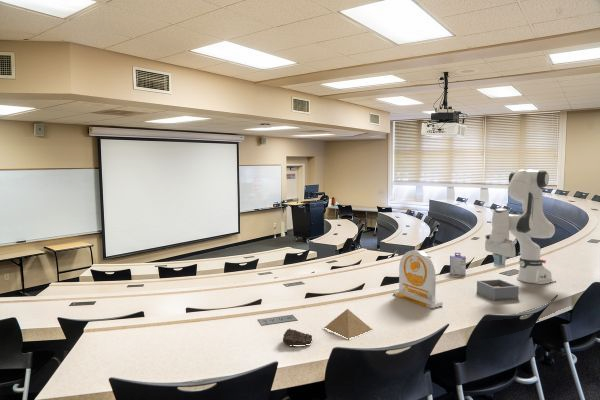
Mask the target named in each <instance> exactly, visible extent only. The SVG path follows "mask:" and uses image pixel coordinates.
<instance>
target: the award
mask: <svg viewBox="0 0 600 400" xmlns="http://www.w3.org/2000/svg"><path fill="white" fill-rule="evenodd" d="M398 269H399V271H398V272H399V273H398V276H399V279H398V290H393V294H395V295H397V296H399V297H398V298H400V297H401V298H400V299H403V298H404V299H403V300H405V299H407V300H406V301H408V300H410V301H409V302H411V301H412V303H414V302H415V303H414V304H416V303H417V305H419V304H420V306H422V305H423V306H422V307H424V306H425V307H424V308H427V307H428V308H427V309H430V308H433V309H436V308H435V307H438V308H440V307H439V306H442V307H443V303H444V302H442V301H440V300H438V299H436V286H437V285H436V278H437V277H436V274H437V273H436V269H435V266H434V263H433V262H432V260H431V258H430V257H429V256H428V255H427V254H426V253H425V252H424V251H421V250H418V249H412V250H409V251H407V252H405V253H404V254H403V255H402V257H401V258H400V261H399V267H398ZM395 295H394V296H395ZM397 296H396V297H397Z"/></svg>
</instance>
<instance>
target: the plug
mask: <svg viewBox="0 0 600 400" xmlns="http://www.w3.org/2000/svg"><path fill="white" fill-rule="evenodd" d="M502 258H503V257H502V255H499V254H494V257H493V267H495V268H497V269H499V268H500V269H502V268H506V263H505V264H503V263H501V260H502Z"/></svg>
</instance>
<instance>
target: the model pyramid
mask: <svg viewBox="0 0 600 400" xmlns="http://www.w3.org/2000/svg"><path fill="white" fill-rule="evenodd" d="M323 328H327V329H329V330H331V331H333V332H336V333H338V334H340V335H342V336H344V337H346V338H348V339H349V338H351V337H355V336H358V335H360V334H363V333H365V332H368V331H370V330H373V328H372V327H370V326H369V325H368V324H367V323H365V322H364V321H363V320H362V319H361V318H359V317H358V316H357V315H356V314H355V313H353V312H352V311H351V310H350V309H348V308H347V309H345V310H344V311H343V312H342V313H340V314H339V315H338V316H337V317H335V318H334V319H333V320H331V321H330V322H329V323H328V324H326V326H324V327H323ZM370 332H371V331H370ZM368 333H369V332H368ZM363 335H364V334H363ZM358 337H359V336H358Z"/></svg>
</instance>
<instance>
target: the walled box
mask: <svg viewBox="0 0 600 400" xmlns="http://www.w3.org/2000/svg"><path fill="white" fill-rule="evenodd" d="M519 289H520V287H519V286H518V285H515V284H513V283H510V282H508V281H505V280H503V279H501V278H499V279H484V280H476V294H479V295H481V296H482V297H485V298H487V299H489V300H491V301H494V302H498V301H508V300H518V299H519V292H520V291H519Z"/></svg>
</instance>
